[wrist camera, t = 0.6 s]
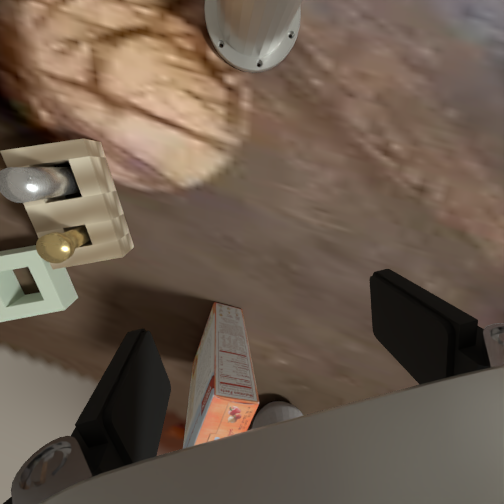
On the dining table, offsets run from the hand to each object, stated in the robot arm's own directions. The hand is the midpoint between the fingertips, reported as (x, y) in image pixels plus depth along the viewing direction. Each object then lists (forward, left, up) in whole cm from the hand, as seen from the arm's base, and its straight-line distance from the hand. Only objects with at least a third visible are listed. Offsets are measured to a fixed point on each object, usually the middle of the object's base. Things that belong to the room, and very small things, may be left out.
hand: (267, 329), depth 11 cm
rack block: (+6, -33, -33) cm, 47 cm away
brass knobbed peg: (0, -22, -30) cm, 37 cm away
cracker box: (+24, -7, -34) cm, 42 cm away
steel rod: (-8, -22, -33) cm, 41 cm away
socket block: (-4, -22, -33) cm, 40 cm away
